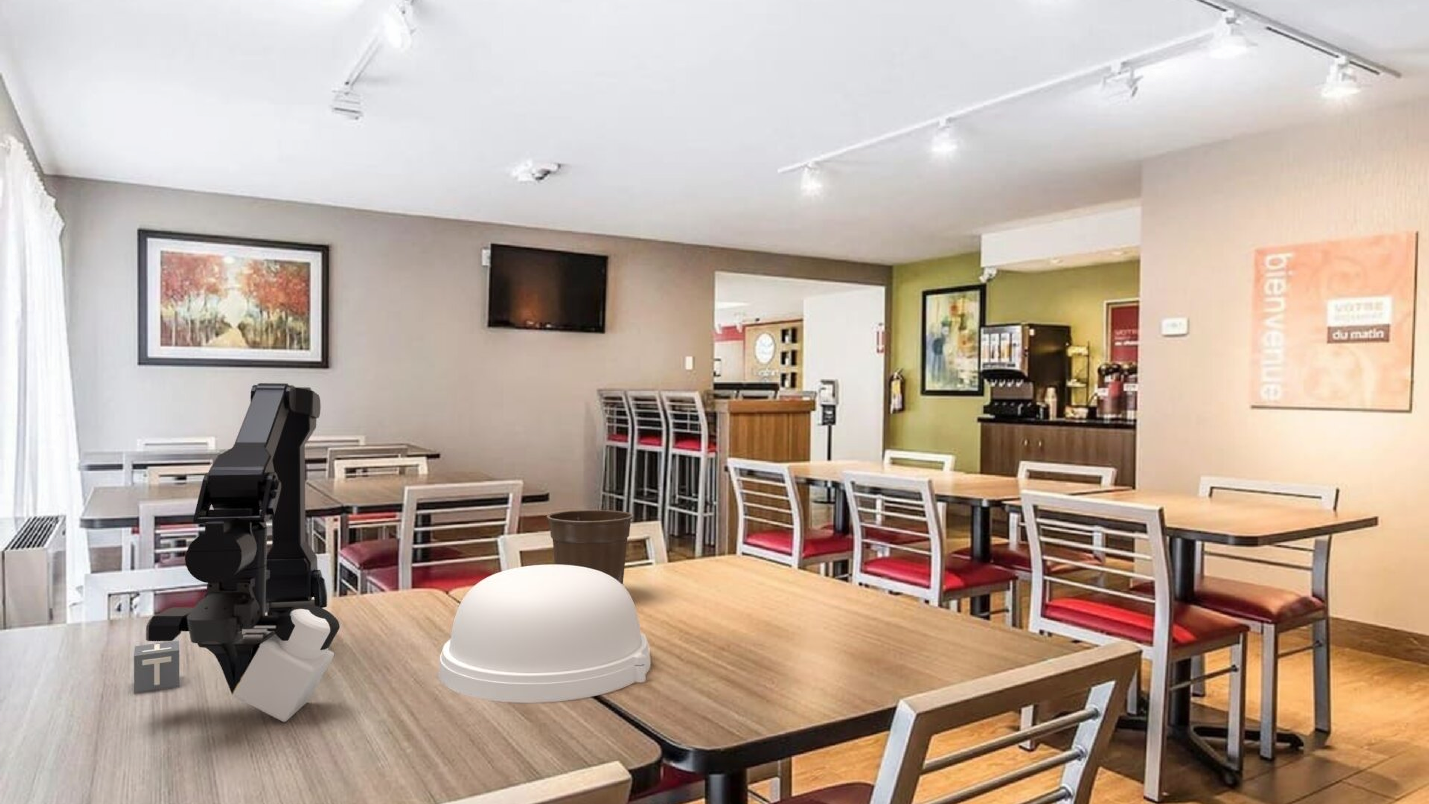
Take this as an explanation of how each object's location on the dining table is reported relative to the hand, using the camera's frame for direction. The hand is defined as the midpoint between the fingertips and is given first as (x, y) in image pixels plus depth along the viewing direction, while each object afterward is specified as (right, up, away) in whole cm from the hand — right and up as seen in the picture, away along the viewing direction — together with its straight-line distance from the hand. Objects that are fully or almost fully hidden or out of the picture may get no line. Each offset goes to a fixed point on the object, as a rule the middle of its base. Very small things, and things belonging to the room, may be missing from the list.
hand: (237, 694), depth 107 cm
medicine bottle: (+4, -1, 0) cm, 4 cm away
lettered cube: (-16, -2, +10) cm, 19 cm away
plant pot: (+35, -2, +59) cm, 69 cm away
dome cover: (+34, -3, +20) cm, 40 cm away
